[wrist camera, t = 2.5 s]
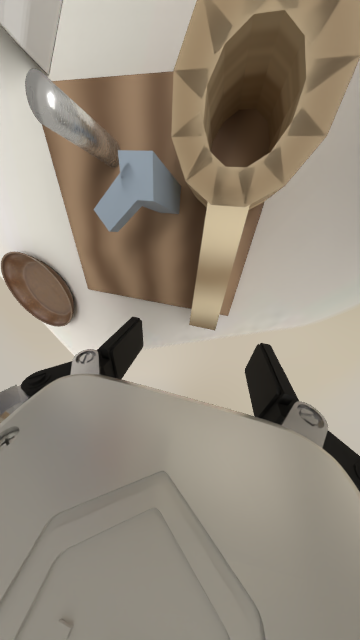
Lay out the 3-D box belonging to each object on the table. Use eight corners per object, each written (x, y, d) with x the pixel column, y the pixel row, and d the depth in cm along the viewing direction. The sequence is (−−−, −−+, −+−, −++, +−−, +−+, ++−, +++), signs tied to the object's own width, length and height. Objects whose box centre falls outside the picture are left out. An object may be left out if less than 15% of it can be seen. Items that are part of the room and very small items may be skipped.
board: (302, 74, 11) (309, 60, 10) (227, 312, 22) (227, 315, 21) (41, 91, 14) (30, 83, 14) (92, 287, 26) (88, 289, 25)
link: (197, 69, 11) (178, -67, 6) (325, 58, 10) (439, -131, 5) (177, 300, 22) (165, 319, 17) (236, 311, 20) (242, 335, 15)
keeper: (183, 188, 16) (152, 150, 9) (179, 236, 18) (153, 236, 11) (141, 186, 16) (81, 150, 9) (143, 231, 19) (97, 230, 12)
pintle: (125, 142, 15) (48, 67, 8) (127, 171, 16) (62, 126, 9) (106, 142, 15) (18, 70, 9) (110, 170, 16) (35, 126, 10)
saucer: (2, 256, 28) (-17, 258, 25) (54, 244, 23) (37, 245, 21) (48, 320, 35) (36, 326, 32) (94, 319, 30) (84, 326, 28)
